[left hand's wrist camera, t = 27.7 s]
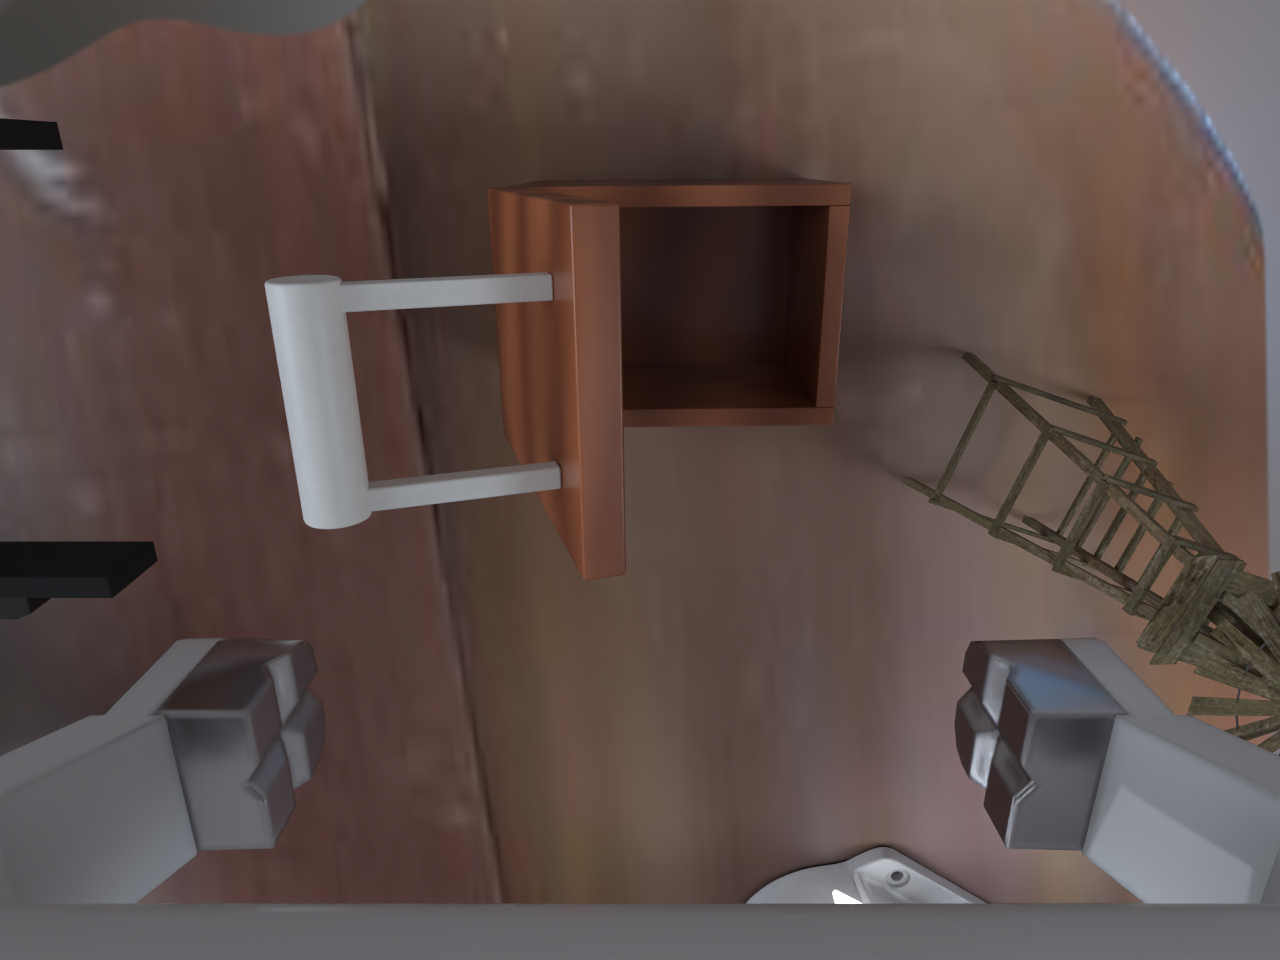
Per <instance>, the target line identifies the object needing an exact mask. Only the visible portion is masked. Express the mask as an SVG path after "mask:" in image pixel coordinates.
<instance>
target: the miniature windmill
mask: <svg viewBox="0 0 1280 960" xmlns="http://www.w3.org/2000/svg"><path fill="white" fill-rule="evenodd" d="M963 359H964V360H965V361H966V362H967V363H968V364H970V365H971V366H972V367H973V368H974V369H975V370H976V371H977V372H978V373H979V374H980V375H981V376H982V377H983V378H984V379H986V380H987V381H988V382H989V384H988V386H987V388H986V390H985V392H984V394H983V396H982V398H981V400H980V402H979V404H978V406H977V408H976V410H975V412H974V414H973V416H972V418H971V420H970V422H969V424H968V426H967V428H966V430H965V432H964V434H963V436H962V438H961V440H960V442H959V444H958V446H957V448H956V450H955V452H954V454H953V456H952V458H951V460H950V462H949V464H948V466H947V468H946V470H945V472H944V474H943V476H942V478H941V480H940V482H939V484H938V486H937V488H936V490H933V489H931V488H929V487H927V486H925V485H924V484H922V483H920V482H918V481H916V480H914V479H911V478H908V477H905V479H904V481H903V483H904V484H906V485H908V486H910V487H912V488H913V489H915V490H917V491H919V492H921V493H923V494H924V495H926V496H928V497H930V498H932V499H930V500H929V502H930V503H932V504H935V505H938V506H941V507H944V508H947V509H950V510H953V511H955V512H957V513H959V514H961V515H963V516H964V517H966V518H968V519H970V520H972V521H974V522H975V523H977V524H979V525H981V526H983V527H985V528H986V529H988V530H989V532H988V533H989V534H990V535H991V536H992V537H995V538H997V539H1000V540H1003V541H1006V542H1009V543H1012V544H1015V545H1017V546H1019V547H1021V548H1023V549H1025V550H1026V551H1028V552H1030V553H1032V554H1034V555H1036V556H1037V557H1039V558H1041V559H1043V560H1045V561H1046V562H1048V563H1050V564H1052V565H1053V567H1052V570H1053V571H1055V572H1056V573H1059V574H1062V575H1066V576H1069V577H1072V578H1075V579H1078V580H1081V581H1083V582H1085V583H1087V584H1088V585H1090V586H1092V587H1094V588H1096V589H1097V590H1099V591H1101V592H1103V593H1105V594H1107V595H1108V596H1110V597H1112V598H1114V599H1116V600H1117V601H1119V602H1121V603H1123V604H1125V606H1124V607H1123V610H1124V611H1125V612H1126V613H1128V614H1129V615H1132V616H1133V615H1135V616H1138V617H1141V618H1144V619H1147V620H1150V621H1149V623H1148V625H1147V626H1146V628H1145V629H1144V631H1143V633H1142V634H1141V636H1140V637H1139V639H1138V640H1137V642H1136V643H1137V644H1138V645H1137V647H1138V648H1141V649H1144V650H1147V651H1150V652H1154V653H1155V655H1154V656H1153V658H1152V659H1151V661H1150V664H1151V665H1159V664H1176V663H1177V661H1178V660H1179V661H1182V662H1186V663H1189V664H1192V665H1195V666H1197V667H1196V669H1195V670H1194V672H1193V673H1195V674H1198V675H1201V676H1204V677H1207V678H1210V679H1212V680H1215V681H1218V682H1221V683H1224V684H1227V685H1230V686H1232V687H1235V688H1238V689H1239V690H1238V695H1237V699H1231V698H1212V697H1193V699H1192V701H1191V704H1190V707H1189V710H1188V713H1187V715H1217V716H1236V727H1235V728H1232V729H1228V730H1225V732H1228V733H1230V734H1232V735H1234V736H1236V737H1239V738H1241V739H1243V740H1245V741H1247V740H1250V739H1253V738H1257V737H1260V736H1263V735H1266V734H1269V733H1272V732H1275V731H1278V730H1280V571H1279V572H1275V573H1272V574H1271V577H1272V580H1273V581H1271V580H1268V579H1265V578H1262V577H1259V576H1256V575H1253V574H1250V573H1247V572H1244V571H1243V569H1244V568H1245V566H1246V565H1247V563H1245V562H1243V560H1240V559H1239V558H1238V557H1237V556H1236V555H1233V554H1230V553H1227V552H1224V550H1223V549H1222V548H1221V547H1220V545H1219V544H1218V543H1217V542H1216V540H1215V539H1214V538H1213V537H1212V536H1211V534H1210V533H1209V532H1208V531H1207V529H1206V528H1205V527H1204V526H1203V524H1202V523H1201V522H1200V521H1199V520H1198V518H1197V517H1196V516H1195V515H1194V513H1193V512H1192V511H1194V512H1197V511H1198V509H1199V508H1198V507H1197V506H1196V505H1194V504H1192V503H1189V502H1186V501H1183V500H1182V499H1181V497H1180V496H1179V495H1178V494H1177V492H1176V491H1175V490H1174V489H1173V487H1172V486H1173V484H1172V483H1171V482H1169V481H1167V480H1166V479H1165V478H1164V476H1163V475H1162V474H1161V473H1160V471H1159V470H1158V469H1157V468H1156V466H1157V464H1158V463H1157V462H1156V461H1155V460H1153V459H1151V458H1148V457H1147V455H1146V454H1145V453H1144V452H1143V450H1142V449H1141V448H1140V445H1141V443H1142V441H1143V440H1142V439H1141V438H1138V437H1136V438H1135V440H1134V439H1133V438H1132V437H1131V436H1130V434H1129V433H1128V432H1127V431H1126V429H1125V428H1124V426H1122V425H1121V424H1123V425H1125V426H1126V424H1127V423H1128V422H1127V421H1126V420H1124V419H1121V418H1119V417H1116V416H1114V415H1113V413H1112V412H1111V411H1110V410H1109V408H1108V407H1107V406H1106V405H1105V404H1104V402H1103V401H1102V400H1101V399H1100V398H1097V397H1094V396H1091V395H1090V397H1089V398H1088V400H1087V402H1088V404H1089V405H1090V406H1091V408H1090V407H1087V406H1084V405H1081V404H1078V403H1075V402H1073V401H1070V400H1067V399H1064V398H1061V397H1058V396H1055V395H1052V394H1049V393H1047V392H1044V391H1041V390H1038V389H1035V388H1032V387H1029V386H1026V385H1024V384H1021V383H1018V382H1015V381H1012V380H1009V379H1006V378H1003V377H1001V376H998V375H996V374H995V373H994V372H993V371H992V370H991V369H990V368H989V367H987V366H986V365H985V364H984V363H983V362H982V361H981V360H980V359H979V358H978V357H977V356H975V355H974V354H971V353H968V352H966V353H965V354H964V356H963ZM1008 385H1010V386H1013V387H1016V388H1019V389H1022V390H1024V391H1027V392H1030V393H1033V394H1036V395H1039V396H1042V397H1045V398H1048V399H1050V400H1053V401H1056V402H1059V403H1062V404H1065V405H1068V406H1071V407H1074V408H1076V409H1079V410H1082V411H1085V412H1088V413H1091V414H1094V415H1097V416H1098V417H1099V418H1100V419H1101V420H1102V422H1103V423H1104V424H1105V426H1106V427H1107V428H1108V429H1109V431H1110V432H1111V433H1112V434H1111V436H1110V438H1109V440H1108V441H1107V443H1104V442H1101V441H1098V440H1095V439H1092V438H1089V437H1086V436H1083V435H1080V434H1077V433H1075V432H1072V431H1069V430H1066V429H1063V428H1060V427H1057V426H1054V425H1051V424H1050V423H1048V422H1047V421H1046V420H1045V419H1044V418H1043V417H1042V416H1041V415H1040V414H1039V413H1038V412H1036V411H1035V410H1034V409H1033V408H1032V407H1031V406H1030V405H1029V404H1028V403H1027V402H1026V401H1024V400H1023V399H1022V398H1021V397H1020V396H1019V395H1018V394H1017V393H1016V392H1015V391H1014V390H1012V389H1011V388H1010V387H1009V386H1008ZM995 389H996V390H997V391H998V392H999V393H1000V394H1002V395H1003V396H1004V397H1005V398H1006V399H1007V400H1008V401H1009V402H1010V403H1011V404H1012V405H1013V406H1014V407H1015V408H1017V409H1018V410H1019V411H1020V412H1021V413H1022V414H1023V415H1024V416H1025V417H1026V418H1027V419H1028V420H1029V421H1030V422H1031V423H1033V424H1034V425H1035V426H1036V427H1037V428H1038V429H1039V430H1040V431H1041V434H1040V436H1039V438H1038V440H1037V442H1036V444H1035V446H1034V448H1033V449H1032V451H1031V453H1030V455H1029V457H1028V459H1027V461H1026V463H1025V464H1024V466H1023V468H1022V470H1021V472H1020V474H1019V476H1018V478H1017V479H1016V481H1015V483H1014V485H1013V487H1012V489H1011V491H1010V493H1009V495H1008V496H1007V498H1006V500H1005V502H1004V504H1003V506H1002V508H1001V510H1000V511H999V513H998V515H997V517H996V519H992V518H989V517H986V516H983V515H980V514H978V513H976V512H974V511H972V510H971V509H969V508H967V507H965V506H963V505H961V504H959V503H957V502H956V501H954V500H952V499H950V498H948V497H946V496H944V495H942V493H943V491H944V489H945V487H946V485H947V483H948V481H949V479H950V477H951V475H952V473H953V471H954V469H955V467H956V465H957V463H958V461H959V459H960V457H961V455H962V453H963V451H964V449H965V447H966V445H967V444H968V442H969V440H970V438H971V436H972V434H973V432H974V430H975V428H976V426H977V424H978V422H979V420H980V418H981V416H982V414H983V412H984V410H985V408H986V406H987V404H988V402H989V400H990V398H991V396H992V394H993V392H994V390H995ZM1063 435H1064V436H1067V437H1070V438H1073V439H1076V440H1079V441H1082V442H1085V443H1087V444H1090V445H1093V446H1096V447H1099V448H1102V449H1103V450H1102V452H1101V454H1100V456H1099V457H1098V459H1097V461H1096V463H1095V465H1094V464H1093V463H1092V462H1091V461H1090V460H1089V459H1088V458H1087V457H1086V456H1084V455H1083V454H1082V453H1081V452H1080V451H1079V450H1078V449H1077V448H1076V447H1075V446H1074V445H1072V444H1071V443H1070V442H1069V441H1068V440H1067V439H1066V438H1065V437H1064V436H1063ZM1048 439H1050V440H1051V441H1052V442H1053V443H1054V444H1055V445H1056V446H1057V447H1058V448H1059V449H1060V450H1061V451H1062V452H1064V453H1065V454H1066V455H1067V456H1068V457H1069V458H1070V459H1071V460H1072V461H1073V462H1074V463H1075V464H1076V465H1077V466H1078V467H1080V468H1081V469H1082V470H1083V471H1084V472H1085V473H1086V474H1087V475H1088V477H1087V479H1086V481H1085V482H1084V484H1083V486H1082V488H1081V489H1080V491H1079V493H1078V495H1077V496H1076V498H1075V500H1074V502H1073V504H1072V505H1071V507H1070V509H1069V511H1068V512H1067V514H1066V516H1065V518H1064V520H1063V521H1062V523H1061V525H1060V527H1059V528H1058V530H1057V532H1055V531H1053V530H1052V529H1050V528H1048V527H1047V526H1045V525H1043V524H1042V523H1040V522H1039V521H1037V520H1035V519H1034V518H1030V517H1027V516H1024V517H1023V520H1022V522H1023V523H1025V524H1026V525H1028V526H1029V527H1031V528H1032V529H1034V530H1036V531H1037V532H1039V533H1040V534H1038V533H1035V532H1032V531H1029V530H1026V529H1023V528H1020V527H1016V526H1013V525H1010V524H1007V523H1004V521H1005V519H1006V517H1007V515H1008V514H1009V512H1010V510H1011V508H1012V506H1013V504H1014V502H1015V501H1016V499H1017V497H1018V495H1019V493H1020V491H1021V489H1022V488H1023V486H1024V484H1025V482H1026V480H1027V478H1028V476H1029V474H1030V473H1031V471H1032V469H1033V467H1034V465H1035V463H1036V461H1037V460H1038V458H1039V456H1040V454H1041V452H1042V450H1043V448H1044V447H1045V445H1046V443H1047V441H1048ZM1116 440H1117V441H1118V442H1119V444H1120V445H1121V446H1122V447H1123V449H1121V448H1118V447H1115V446H1113V445H1114V443H1115V441H1116ZM1110 451H1111V452H1114V453H1117V454H1120V455H1123V456H1125V458H1124V459H1123V461H1122V463H1121V464H1120V466H1119V468H1118V470H1117V471H1116V473H1115V475H1114V477H1112V476H1109V475H1106V474H1104V473H1103V472H1102V471H1101V470H1100V468H1101V466H1102V464H1103V463H1104V461H1105V459H1106V457H1107V456H1108V454H1109V452H1110ZM1131 460H1133V462H1134V463H1135V464H1136V465H1137V467H1138V468H1139V469H1140V471H1141V473H1140V475H1139V477H1138V479H1137V480H1136V482H1135V484H1133V483H1130V482H1127V481H1124V480H1121V478H1122V476H1123V474H1124V473H1125V471H1126V469H1127V467H1128V466H1129V464H1130V462H1131ZM1146 479H1147V480H1148V481H1149V482H1150V483H1151V485H1152V486H1153V487H1154V489H1155V490H1156V491H1154V490H1151V489H1148V488H1145V487H1142V486H1143V484H1144V483H1145V481H1146ZM1093 481H1095V482H1096V483H1097V486H1096V488H1095V490H1094V491H1093V493H1092V495H1091V497H1090V498H1089V500H1088V502H1087V504H1086V505H1085V507H1084V509H1083V511H1082V512H1081V514H1080V516H1079V518H1078V520H1077V521H1076V523H1075V525H1074V527H1073V528H1072V530H1071V532H1070V534H1069V535H1068V537H1067V539H1066V538H1065V537H1063V536H1062V535H1063V533H1064V531H1065V530H1066V528H1067V526H1068V524H1069V523H1070V521H1071V519H1072V517H1073V515H1074V514H1075V512H1076V510H1077V508H1078V507H1079V505H1080V503H1081V501H1082V500H1083V498H1084V496H1085V494H1086V493H1087V491H1088V489H1089V487H1090V485H1091V484H1092V482H1093ZM1118 486H1119V487H1122V488H1125V489H1128V490H1131V491H1130V493H1129V494H1128V495H1127V494H1126V493H1125V492H1124V491H1123V490H1122V489H1120V488H1119V487H1118ZM1138 493H1140V494H1143V495H1146V496H1149V497H1152V498H1155V499H1154V501H1153V503H1152V504H1151V506H1150V508H1149V510H1148V511H1147V512H1146V511H1144V510H1143V509H1142V508H1141V507H1140V506H1139V505H1138V504H1137V503H1136V502H1135V501H1134V500H1135V498H1136V497H1137V495H1138ZM1110 497H1112V498H1113V499H1114V500H1115V501H1116V502H1117V503H1118V504H1119V505H1120V506H1121V508H1120V510H1119V512H1118V513H1117V515H1116V517H1115V519H1114V520H1113V522H1112V524H1111V526H1110V527H1109V529H1108V531H1107V533H1106V534H1105V536H1104V538H1103V540H1102V541H1101V543H1100V545H1099V547H1098V548H1097V550H1096V552H1095V554H1094V555H1092V554H1091V553H1089V552H1087V551H1086V550H1084V549H1082V548H1081V547H1082V545H1083V543H1084V542H1085V540H1086V538H1087V536H1088V535H1089V533H1090V531H1091V529H1092V528H1093V526H1094V524H1095V523H1096V521H1097V519H1098V517H1099V516H1100V514H1101V512H1102V510H1103V509H1104V507H1105V505H1106V504H1107V502H1108V500H1109V498H1110ZM1163 501H1164V502H1165V503H1166V504H1167V505H1168V507H1169V508H1170V509H1171V511H1172V512H1173V513H1174V514H1175V516H1176V518H1175V520H1174V522H1173V523H1172V525H1171V527H1170V528H1169V530H1168V532H1167V531H1166V530H1165V529H1164V528H1163V527H1162V526H1161V525H1160V524H1159V523H1158V522H1156V521H1155V520H1154V519H1153V518H1154V517H1155V515H1156V513H1157V511H1158V510H1159V508H1160V506H1161V505H1162V503H1163ZM1127 512H1128V513H1129V514H1130V515H1131V516H1132V517H1133V518H1134V519H1135V520H1136V521H1137V522H1138V523H1139V524H1140V525H1139V527H1138V528H1137V530H1136V532H1135V534H1134V535H1133V537H1132V539H1131V540H1130V542H1129V544H1128V546H1127V547H1126V549H1125V551H1124V552H1123V554H1122V556H1121V558H1120V559H1119V561H1118V563H1117V564H1116V566H1115V568H1113V567H1112V566H1110V565H1108V564H1107V563H1105V562H1104V561H1102V560H1100V559H1101V557H1102V555H1103V554H1104V552H1105V550H1106V549H1107V547H1108V545H1109V543H1110V542H1111V540H1112V538H1113V536H1114V535H1115V533H1116V531H1117V529H1118V528H1119V526H1120V524H1121V523H1122V521H1123V519H1124V517H1125V516H1126V514H1127ZM1182 525H1183V526H1184V527H1185V529H1186V530H1187V531H1188V532H1189V534H1190V535H1191V536H1192V538H1193V539H1194V540H1195V541H1196V542H1194V541H1191V540H1188V539H1185V538H1182V537H1179V536H1176V535H1177V534H1178V532H1179V530H1180V529H1181V527H1182ZM1004 527H1006V528H1009V529H1012V530H1015V531H1018V532H1021V533H1024V534H1027V535H1030V536H1033V537H1036V538H1040V539H1043V540H1046V541H1049V542H1052V543H1055V544H1057V545H1059V546H1061V547H1062V548H1061V549H1060V551H1059V553H1056V552H1053V551H1050V550H1047V549H1044V548H1042V547H1040V546H1038V545H1036V544H1035V543H1033V542H1031V541H1029V540H1027V539H1025V538H1023V537H1021V536H1019V535H1018V534H1016V533H1014V532H1012V531H1010V530H1008V529H1006V528H1004ZM1146 530H1147V531H1148V532H1149V533H1150V534H1151V535H1152V536H1153V537H1154V538H1155V539H1156V540H1158V541H1159V542H1160V543H1161V544H1160V545H1159V547H1158V549H1157V551H1156V552H1155V554H1154V556H1153V557H1152V559H1151V561H1150V562H1149V564H1148V566H1147V568H1146V569H1145V571H1144V573H1143V574H1142V576H1141V578H1140V579H1139V581H1138V582H1136V581H1134V580H1133V579H1131V578H1130V577H1128V576H1126V575H1125V574H1123V573H1122V571H1123V569H1124V568H1125V566H1126V564H1127V563H1128V561H1129V559H1130V557H1131V556H1132V554H1133V552H1134V551H1135V549H1136V547H1137V546H1138V544H1139V542H1140V540H1141V539H1142V537H1143V535H1144V534H1145V532H1146ZM1041 534H1042V535H1041ZM1186 548H1188V549H1191V550H1194V551H1197V552H1198V554H1197V555H1192V554H1191V553H1190V552H1189V551H1188V550H1187V549H1186ZM1171 554H1172V555H1174V556H1175V557H1176V558H1177V559H1178V560H1179V561H1180V562H1181V563H1182V564H1183V565H1184V568H1183V569H1182V571H1181V573H1180V574H1179V576H1178V577H1177V579H1176V580H1175V582H1174V584H1173V585H1172V587H1171V588H1170V590H1169V591H1168V593H1167V595H1166V596H1165V598H1162V597H1160V596H1159V595H1157V594H1156V593H1154V592H1152V591H1151V590H1149V589H1150V588H1151V586H1152V585H1153V583H1154V581H1155V580H1156V578H1157V577H1158V575H1159V573H1160V572H1161V570H1162V569H1163V567H1164V565H1165V564H1166V562H1167V561H1168V559H1169V557H1170V556H1171ZM1069 555H1071V557H1069ZM1072 557H1074V558H1072ZM1075 557H1078V558H1079V559H1081V560H1082V561H1081V560H1078V559H1075ZM1070 562H1071V563H1070ZM1072 563H1074V564H1077V565H1081V566H1084V567H1087V568H1090V569H1093V570H1095V569H1096V570H1098V571H1099V572H1101V573H1103V574H1104V575H1106V576H1107V577H1109V578H1110V579H1112V580H1113V581H1115V582H1117V583H1118V584H1120V585H1121V586H1123V587H1124V588H1122V587H1119V586H1115V585H1112V584H1110V583H1108V582H1106V581H1104V580H1102V579H1100V578H1098V577H1097V576H1095V575H1093V574H1091V573H1089V572H1087V571H1085V570H1083V569H1082V568H1080V567H1078V566H1076V565H1074V564H1072ZM1125 588H1126V589H1125ZM1236 594H1237V595H1238V596H1237V595H1236ZM1143 600H1145V601H1146V602H1148V603H1149V604H1151V605H1152V606H1151V605H1149V604H1147V603H1145V602H1144V601H1143ZM1223 602H1224V603H1225V604H1226V605H1227V606H1228V607H1229V608H1228V607H1227V606H1226V605H1225V604H1223ZM1153 606H1154V607H1153ZM1155 607H1156V608H1155ZM1210 621H1211V622H1213V623H1214V624H1215V625H1216V626H1217V627H1216V628H1215V629H1212V628H1211V627H1209V626H1208V625H1209V623H1210ZM1269 681H1271V682H1272V683H1271V682H1269ZM1274 683H1275V684H1274ZM1241 690H1244V691H1247V692H1250V693H1253V694H1255V695H1258V696H1261V697H1264V698H1267V699H1270V700H1273V701H1269V700H1250V699H1239V696H1240V691H1241ZM1238 716H1274V717H1271V718H1267V719H1264V720H1260V721H1257V722H1253V723H1250V724H1246V725H1242V726H1238ZM1258 747H1261V748H1263V749H1265V750H1267V751H1270V752H1272V753H1273V752H1275V751H1276V750H1277V749H1279V748H1280V731H1279V732H1277V733H1276V734H1274V735H1273V736H1271V737H1270V738H1268V739H1267V740H1265V741H1264V742H1262V743H1261V744H1259V745H1258ZM1278 756H1280V754H1279V755H1278Z"/></svg>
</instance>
